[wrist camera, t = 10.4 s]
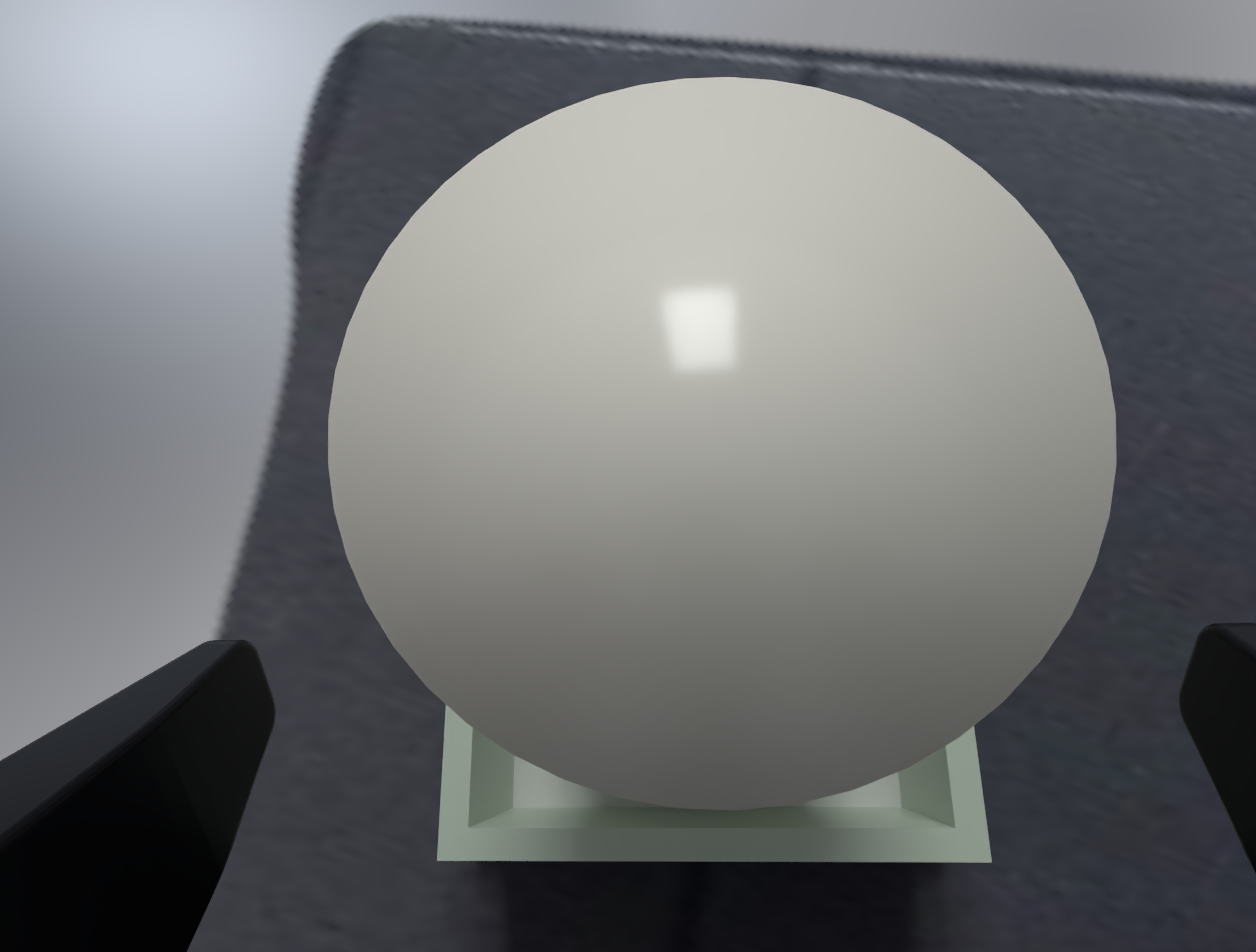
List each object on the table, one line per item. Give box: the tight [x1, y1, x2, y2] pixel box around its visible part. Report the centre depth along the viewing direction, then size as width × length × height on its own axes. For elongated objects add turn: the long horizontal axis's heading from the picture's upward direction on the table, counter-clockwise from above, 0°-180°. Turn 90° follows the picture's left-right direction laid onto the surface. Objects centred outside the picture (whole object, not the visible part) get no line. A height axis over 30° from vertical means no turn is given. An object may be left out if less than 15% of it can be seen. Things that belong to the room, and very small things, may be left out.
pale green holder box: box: [437, 705, 992, 862], centre depth 17 cm, size 13×10×5 cm
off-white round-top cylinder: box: [328, 77, 1116, 811], centre depth 12 cm, size 6×6×12 cm
